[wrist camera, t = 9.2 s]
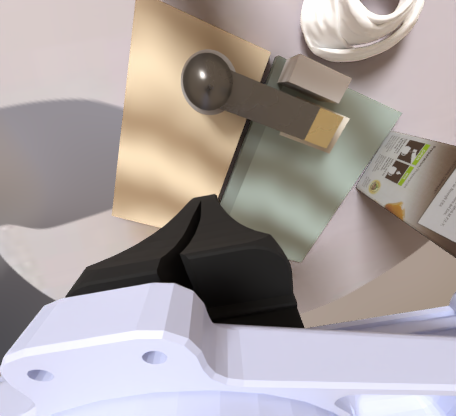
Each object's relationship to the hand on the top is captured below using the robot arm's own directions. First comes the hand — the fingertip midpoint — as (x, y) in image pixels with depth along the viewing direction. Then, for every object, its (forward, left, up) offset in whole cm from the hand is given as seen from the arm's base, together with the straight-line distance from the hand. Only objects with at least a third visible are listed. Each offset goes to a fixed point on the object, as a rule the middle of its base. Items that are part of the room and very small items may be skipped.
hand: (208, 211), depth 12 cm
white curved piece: (+14, -6, -10) cm, 19 cm away
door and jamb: (0, -3, -10) cm, 10 cm away
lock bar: (+6, -2, -8) cm, 11 cm away
